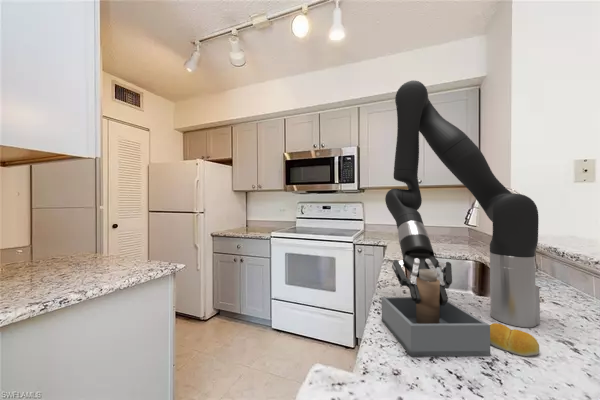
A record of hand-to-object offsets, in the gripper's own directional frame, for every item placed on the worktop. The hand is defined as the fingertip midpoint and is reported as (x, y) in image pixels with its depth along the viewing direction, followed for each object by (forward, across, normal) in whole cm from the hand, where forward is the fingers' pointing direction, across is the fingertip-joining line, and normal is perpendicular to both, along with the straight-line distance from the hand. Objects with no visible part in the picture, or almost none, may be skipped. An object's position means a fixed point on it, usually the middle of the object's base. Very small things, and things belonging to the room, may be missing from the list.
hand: (430, 302), depth 56 cm
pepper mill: (+2, 0, +5) cm, 6 cm away
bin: (+5, 0, +7) cm, 8 cm away
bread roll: (+6, +16, +6) cm, 18 cm away
